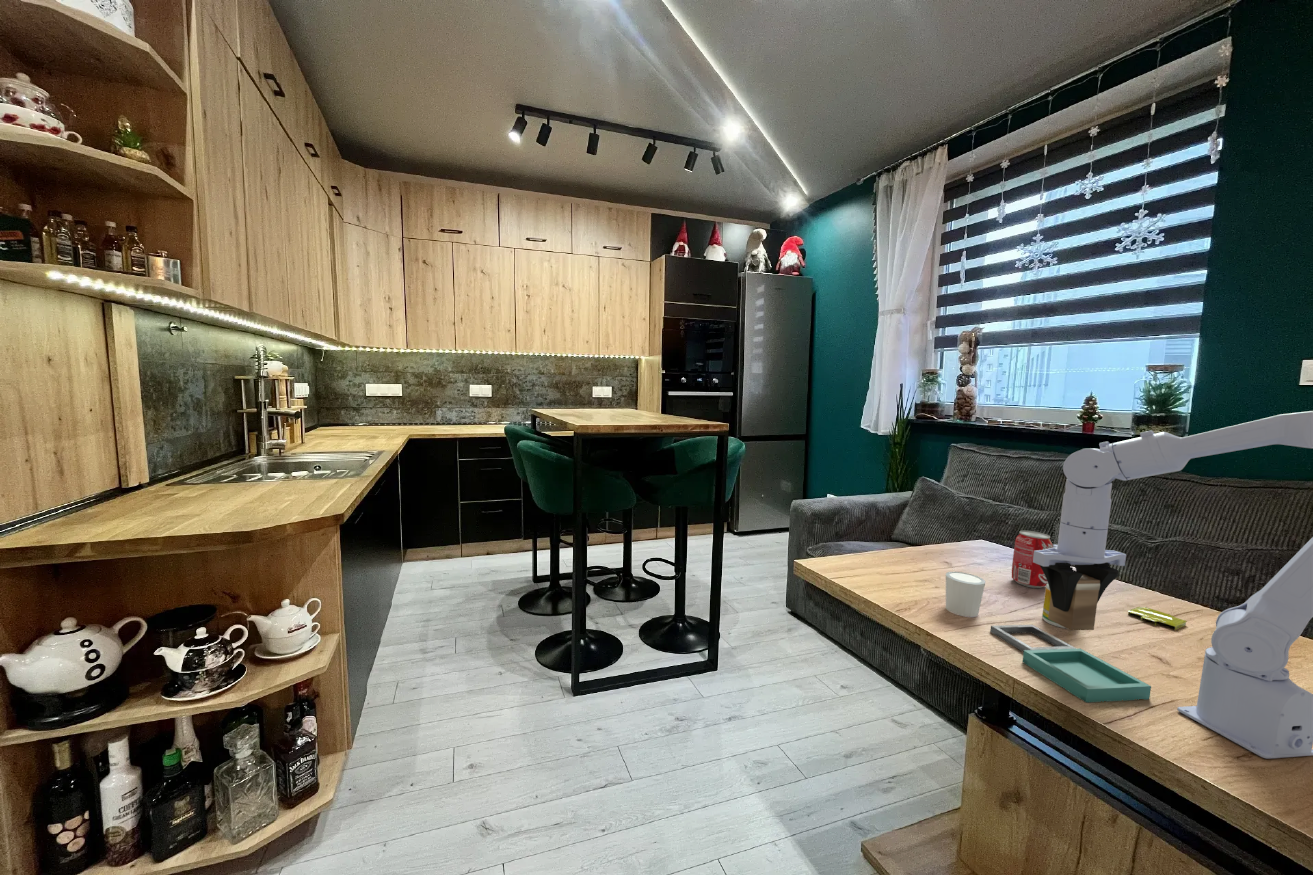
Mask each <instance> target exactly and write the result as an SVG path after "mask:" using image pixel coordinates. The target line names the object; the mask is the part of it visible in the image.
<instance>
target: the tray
mask: <svg viewBox="0 0 1313 875" xmlns="http://www.w3.org/2000/svg"><path fill="white" fill-rule="evenodd" d="M1022 664H1025V665H1026V666H1028V667H1029V668H1031V669H1033V670H1034V671H1036V672H1037V673H1039V674H1041V675H1042V676H1043V677H1045V678H1047V679H1048V680H1050V681H1052V682H1053V683H1054V684H1057V685H1058V686H1059V687H1061V688H1062V687H1063V689H1064V688H1065V689H1064V690H1065V691H1067V692H1069V693H1071V694H1072V695H1074V696H1075V697H1076V698H1078V699H1079V700H1082V701H1083V702H1084V703H1103V702H1104V701H1106V702H1122V700H1123V702H1124V701H1138V700H1139V699H1144V700H1150V697H1151V690H1152V686H1151V685H1149V684H1148V683H1146V682H1144V681H1142V680H1141V679H1138V678H1137V677H1135V676H1133V675H1131V674H1129V673H1128V672H1126V671H1123V670H1122V669H1120V668H1118V667H1116V666H1114V665H1113V664H1110V663H1109V662H1107V661H1104V660H1103V659H1101V658H1099V657H1097V656H1095V655H1093V654H1092V653H1090V652H1088V651H1086V650H1085V649H1082V648H1077V649H1049V650H1024V652H1022ZM1135 699H1136V700H1135ZM1137 699H1138V700H1137ZM1101 701H1102V702H1101ZM1139 701H1140V700H1139Z"/></svg>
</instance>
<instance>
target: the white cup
mask: <svg viewBox="0 0 1313 875" xmlns="http://www.w3.org/2000/svg"><path fill="white" fill-rule="evenodd" d="M985 586H986V580H985V579H984V578H982V577H980V576H977V575H974V574H972V573H966V572H962V571H961V572H960V571H948V572H946V573H945V609H946V611H948V612H950V613H952V614H954V615H956V616H960V617H966V618H976V617H978V616H979V613H980V607H981V603H982V598H983V595H984V594H983V593H984V592H985V591H984V590H985Z"/></svg>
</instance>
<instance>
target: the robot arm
mask: <svg viewBox="0 0 1313 875" xmlns="http://www.w3.org/2000/svg"><path fill="white" fill-rule="evenodd" d="M1139 435H1140V436H1139V437H1135V438H1131V439H1130V438H1129V439H1126V440H1122V441H1117V442H1112V443H1110V442H1109V441H1103V442H1099V444H1098V445H1099V448H1082V449H1080V450H1077V451H1075V452H1073V453H1071V454H1070V455H1068V456H1067V457H1066V459H1065V460H1064V461H1063V465H1062V469H1063V474H1064V476H1065V477H1066V478H1065V480H1066V481H1065V491H1064V493H1063V498H1062V504H1061V505H1062V506H1061V512H1060V513H1061V514H1060V522H1059V529H1058V530H1059V531H1058V539H1057V544H1052V548H1050V549H1045V550H1036V551H1034V556H1033V562H1034V563H1036V564H1039V565H1040V567H1041V569H1042V570H1043V572H1044V574H1045V576H1046V579H1047V581H1048V584H1049V588H1050V592H1051V597H1052V603H1053V607H1056V608H1058V609H1060V610H1062V611H1064V612H1068V611H1069V609H1070V606H1071V602H1072V597H1073V592H1074V590H1075V587H1076V585H1077V583H1078V581H1079V579H1080V578H1081V577H1082V575H1083V574H1084V575H1087V576H1090V577H1092V578H1095V579H1098V580H1100V590H1099V593H1098V601H1097V604H1098V603H1099V601H1100V600H1101V597H1102V596H1103V593H1104V592H1105V591H1106V589H1107V588H1108V587H1109V586H1110V584H1111V583H1112V582H1113V581H1114V580H1115V579H1117V578H1118V577H1119V571H1120V570H1118V569H1116V568H1113V567H1111V566H1110V565H1116V566H1119V567H1125V566H1126V559H1127V554H1126V553H1123V552H1120V551H1116V550H1113V549H1112V550H1111V549H1110V550H1109V549H1106V546H1107V539H1108V531H1109V522H1110V515H1111V507H1112V498H1111V495H1112V488H1113V483H1112V482H1113V481H1115V480H1116V479H1117V480H1119V481H1125V482H1126V481H1129V480H1136V479H1141V478H1147V477H1152V476H1158V475H1163V474H1169V473H1175V472H1180V471H1182V470H1183V469H1184V468H1185V467H1186V465H1187V464H1188V462H1189V461H1190V460H1192V459H1195V458H1201V457H1207V456H1213V455H1219V454H1225V453H1231V452H1236V451H1243V450H1248V449H1253V448H1254V449H1256V448H1260V447H1266V446H1272V445H1284V446H1291V447H1297V448H1305V449H1313V410H1309V411H1301V412H1292V413H1291V412H1290V413H1283V414H1282V413H1281V414H1277V415H1273V416H1269V417H1265V418H1260V419H1255V420H1253V421H1252V420H1251V421H1248V422H1243V423H1239V424H1235V425H1231V426H1226V427H1222V428H1218V429H1213V430H1209V431H1205V432H1201V433H1197V434H1191V435H1189V436H1188V435H1186V436H1183V437H1181V436H1178V435H1176V434H1175V435H1174V434H1172V433H1169V432H1167V431H1161V432H1156V433H1155V432H1154V430H1147V431H1143V432H1140V433H1139ZM1072 565H1073V566H1074V567H1075V570H1074V569H1073V568H1074V567H1072ZM1312 618H1313V536H1312V537H1311V538H1310V539H1309V540H1308V541H1307V542H1306V543H1305V544H1304V545H1303V546H1302V547H1301V548H1300V549H1299V550H1298V551H1297V552H1296V554H1295V555H1294V556H1292V557H1291V559H1289V561H1288V562H1286V564H1285V565H1284V566H1282V568H1281V569H1280V570H1279V571H1278V572H1277V573H1276V574H1274V576H1273V577H1272V578H1271V579H1270V580H1268V582H1267V583H1266V584H1265V585H1264V586H1263V587H1262V588H1261V589H1260V590H1258V591H1256V592H1255V593H1254V594H1252V595H1251V596H1250V597H1249V598H1248V599H1247V600H1246V601H1245V602H1244V603H1241V604H1240V605H1238V606H1234V607H1229V608H1227V609H1224V610H1223V611H1221V612H1220V613H1219V614H1218V615H1217V618H1216V620H1215V626H1216V628H1215V630H1214V631H1213V632H1212V635H1211V641H1210V642H1211V647H1208V648H1206V649H1205V651H1204V660H1203V663H1202V670H1201V677H1200V684H1199V689H1198V695H1197V701H1196V705H1191V706H1190V705H1189V706H1186V705H1185V706H1178V707H1176V708H1177V709H1176V710H1177V711H1178V712H1179V713H1181V714H1183V715H1184V716H1186V717H1188V718H1190V719H1192V720H1193V721H1194V722H1195V721H1196V722H1198V723H1199V724H1201V725H1203V727H1206V728H1208V729H1210V730H1212V731H1213V732H1215V733H1217V734H1219V735H1220V736H1223V737H1225V738H1227V739H1228V740H1230V741H1232V742H1233V743H1235V744H1236V745H1239V746H1241V747H1242V748H1244V749H1246V750H1248V751H1249V752H1252V753H1254V754H1255V755H1257V756H1259V757H1261V758H1264V759H1267V760H1268V759H1281V758H1293V757H1294V758H1295V757H1306V756H1313V693H1311V692H1310V691H1308V690H1306V689H1304V688H1302V687H1301V686H1299V685H1297V684H1296V683H1295V682H1293V681H1292V679H1290V671H1289V669H1287V668H1286V666H1287V665H1288V662H1289V656H1290V655H1289V653H1290V652H1289V651H1290V648H1291V646H1292V645H1293V643H1295V641H1296V640H1298V639H1299V638H1300V637H1301V634H1302V633H1303V631H1304V630H1305V628H1306V627H1307V625H1308V623H1309V622H1310V620H1312Z"/></svg>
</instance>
